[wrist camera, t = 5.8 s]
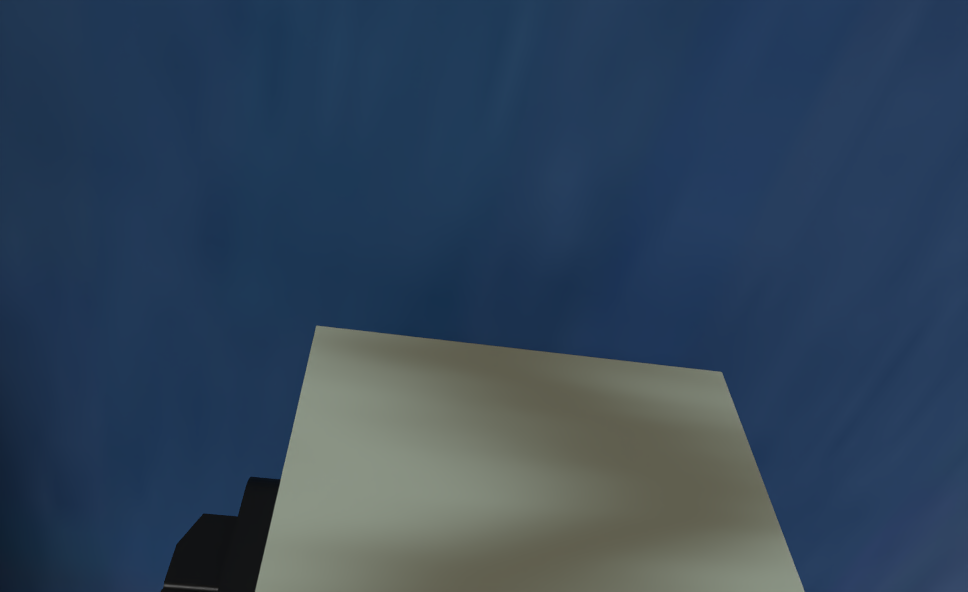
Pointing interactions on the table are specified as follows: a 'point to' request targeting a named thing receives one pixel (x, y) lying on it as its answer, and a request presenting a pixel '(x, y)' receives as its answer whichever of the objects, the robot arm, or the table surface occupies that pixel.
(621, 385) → the sage cube
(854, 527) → the table surface
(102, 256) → the table surface
